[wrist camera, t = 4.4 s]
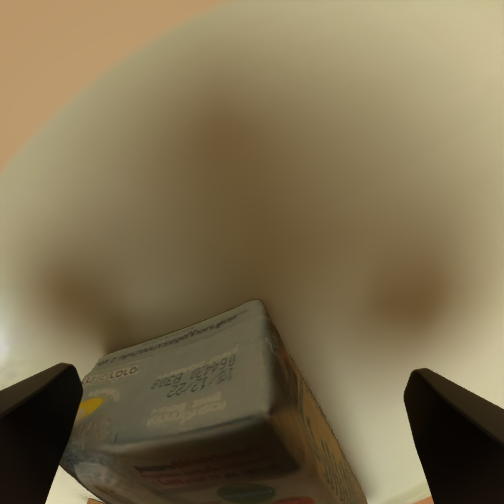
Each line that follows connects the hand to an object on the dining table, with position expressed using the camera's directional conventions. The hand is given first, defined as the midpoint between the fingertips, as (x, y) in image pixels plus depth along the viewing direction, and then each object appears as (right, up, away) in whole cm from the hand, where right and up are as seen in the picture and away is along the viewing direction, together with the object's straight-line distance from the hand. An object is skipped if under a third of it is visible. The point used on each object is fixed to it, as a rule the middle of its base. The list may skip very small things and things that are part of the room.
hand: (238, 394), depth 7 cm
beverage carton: (+1, -7, +7) cm, 10 cm away
